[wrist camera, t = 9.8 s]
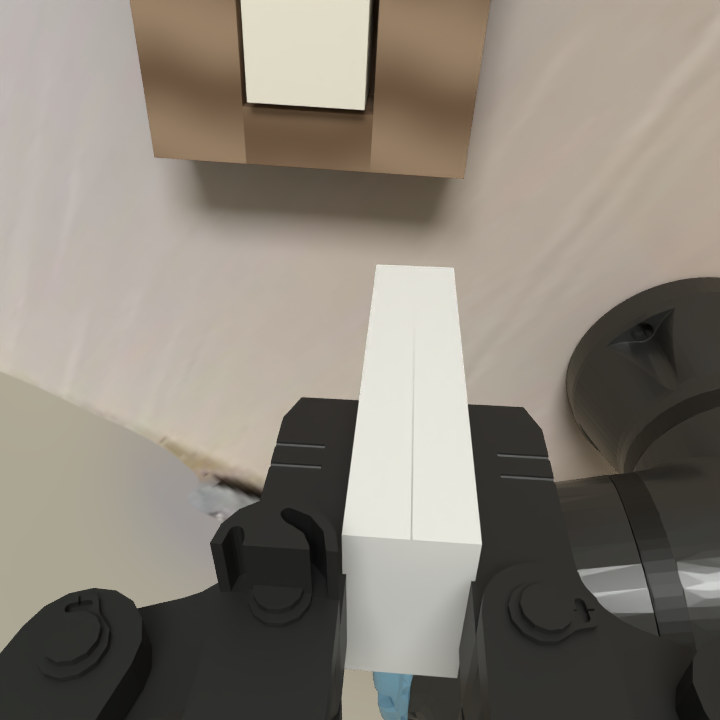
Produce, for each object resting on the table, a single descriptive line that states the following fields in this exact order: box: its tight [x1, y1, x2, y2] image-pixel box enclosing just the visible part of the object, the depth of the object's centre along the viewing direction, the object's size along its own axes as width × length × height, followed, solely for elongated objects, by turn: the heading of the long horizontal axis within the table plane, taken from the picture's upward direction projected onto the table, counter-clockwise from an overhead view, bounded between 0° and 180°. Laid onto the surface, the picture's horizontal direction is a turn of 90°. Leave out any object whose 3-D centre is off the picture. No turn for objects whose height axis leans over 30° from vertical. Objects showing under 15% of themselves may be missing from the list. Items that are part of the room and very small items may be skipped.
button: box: [241, 0, 374, 110], centre depth 29 cm, size 6×6×4 cm
